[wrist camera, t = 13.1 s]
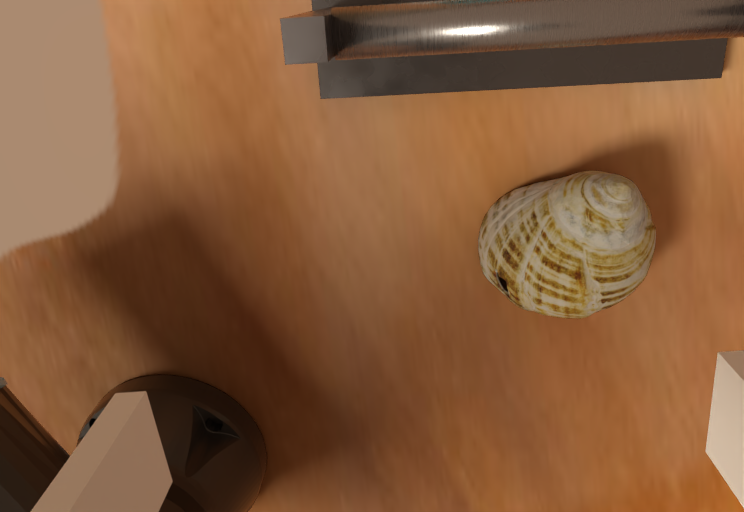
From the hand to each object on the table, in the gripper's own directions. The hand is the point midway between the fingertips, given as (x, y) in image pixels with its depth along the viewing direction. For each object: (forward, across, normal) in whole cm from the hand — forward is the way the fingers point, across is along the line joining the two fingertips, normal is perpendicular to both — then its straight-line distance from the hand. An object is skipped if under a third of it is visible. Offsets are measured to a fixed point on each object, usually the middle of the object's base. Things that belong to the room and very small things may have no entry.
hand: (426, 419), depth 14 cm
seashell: (+29, +10, -6) cm, 31 cm away
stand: (+28, +7, +8) cm, 30 cm away
